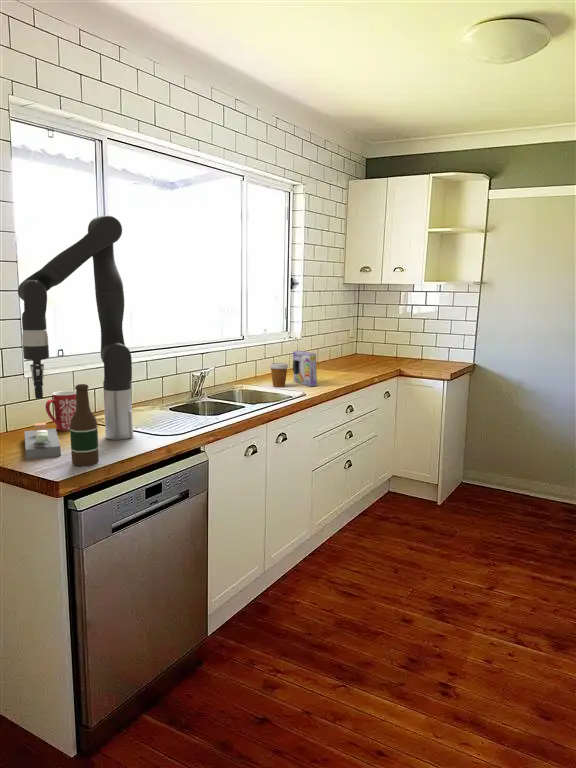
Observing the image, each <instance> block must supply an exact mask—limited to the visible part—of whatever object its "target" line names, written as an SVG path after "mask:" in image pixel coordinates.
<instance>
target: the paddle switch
mask: <svg viewBox="0 0 576 768" xmlns="http://www.w3.org/2000/svg"><path fill="white" fill-rule="evenodd" d="M47 429H48V428H47V422H40V423H39V422H38V423H34V430H35V432H36V431H38V430H47ZM35 435H36V433H35Z"/></svg>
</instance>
